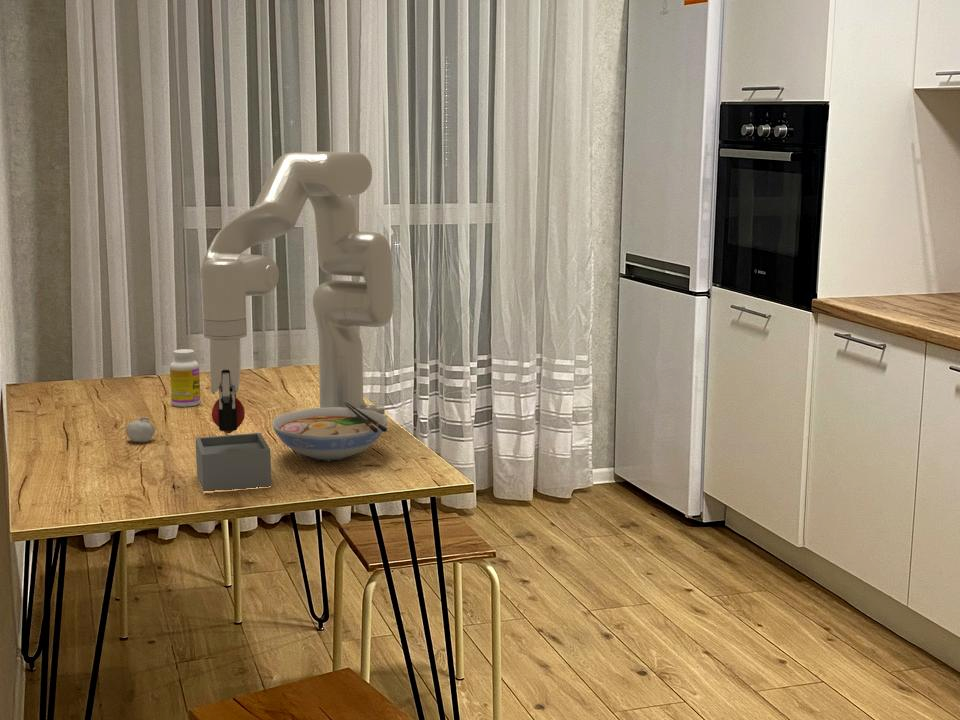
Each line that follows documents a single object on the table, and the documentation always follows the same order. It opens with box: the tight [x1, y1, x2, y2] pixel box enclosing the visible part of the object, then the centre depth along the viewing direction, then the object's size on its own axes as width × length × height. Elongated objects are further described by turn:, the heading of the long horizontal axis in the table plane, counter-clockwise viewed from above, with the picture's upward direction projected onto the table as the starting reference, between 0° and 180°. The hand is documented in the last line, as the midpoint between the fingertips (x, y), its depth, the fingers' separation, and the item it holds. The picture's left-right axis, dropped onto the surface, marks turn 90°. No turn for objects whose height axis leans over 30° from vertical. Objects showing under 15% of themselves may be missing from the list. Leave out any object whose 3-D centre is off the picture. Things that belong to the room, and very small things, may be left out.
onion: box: [211, 396, 246, 434], centre depth 204 cm, size 6×6×8 cm
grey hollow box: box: [194, 432, 272, 491], centre depth 206 cm, size 12×12×8 cm
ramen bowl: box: [271, 403, 388, 462], centre depth 222 cm, size 25×23×8 cm
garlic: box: [126, 416, 156, 444], centre depth 233 cm, size 6×5×5 cm
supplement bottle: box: [169, 348, 201, 408], centre depth 264 cm, size 7×7×13 cm
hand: (228, 424), depth 205 cm, fingers closed on onion, 5 cm apart
